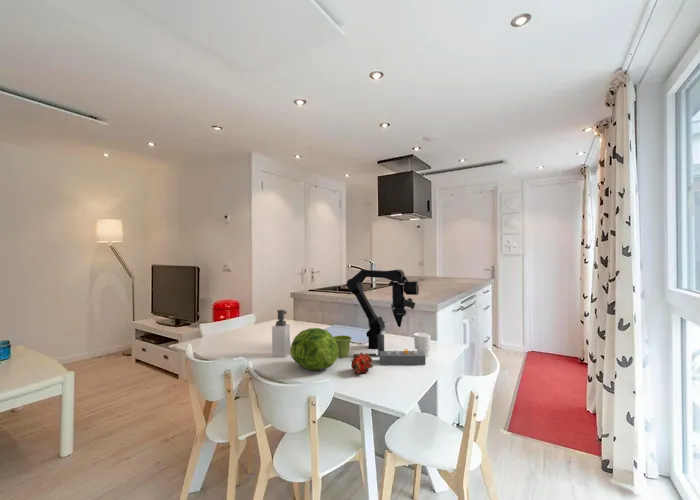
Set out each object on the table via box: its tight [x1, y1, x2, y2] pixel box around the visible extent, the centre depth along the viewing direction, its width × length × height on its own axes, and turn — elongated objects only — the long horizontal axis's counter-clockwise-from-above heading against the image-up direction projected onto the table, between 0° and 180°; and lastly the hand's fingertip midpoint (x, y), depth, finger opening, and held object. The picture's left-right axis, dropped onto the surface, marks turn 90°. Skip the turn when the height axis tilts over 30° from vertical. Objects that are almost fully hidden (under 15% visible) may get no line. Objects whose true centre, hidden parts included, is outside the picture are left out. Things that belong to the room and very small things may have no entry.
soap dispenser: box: [271, 309, 291, 358], centre depth 165 cm, size 6×9×22 cm
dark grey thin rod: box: [352, 352, 377, 358], centre depth 159 cm, size 11×1×1 cm, turn 95°
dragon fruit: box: [350, 352, 374, 375], centre depth 139 cm, size 8×8×12 cm
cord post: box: [377, 333, 385, 358], centre depth 160 cm, size 3×3×10 cm
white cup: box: [413, 332, 432, 358], centre depth 160 cm, size 8×8×10 cm
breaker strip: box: [379, 348, 426, 366], centre depth 151 cm, size 20×7×6 cm, turn 87°
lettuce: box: [289, 327, 339, 371], centre depth 145 cm, size 18×23×19 cm
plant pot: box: [333, 334, 352, 358], centre depth 161 cm, size 9×9×9 cm
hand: (398, 324), depth 168 cm, fingers open, 9 cm apart
